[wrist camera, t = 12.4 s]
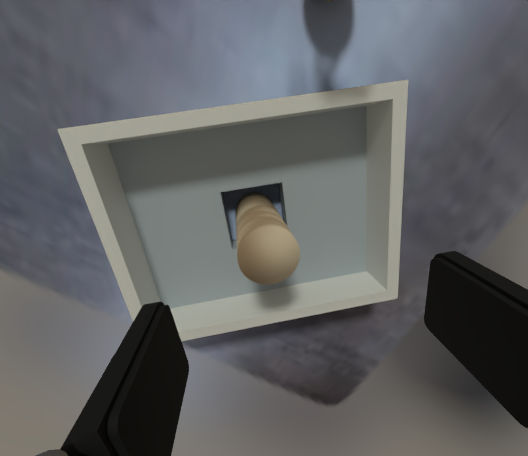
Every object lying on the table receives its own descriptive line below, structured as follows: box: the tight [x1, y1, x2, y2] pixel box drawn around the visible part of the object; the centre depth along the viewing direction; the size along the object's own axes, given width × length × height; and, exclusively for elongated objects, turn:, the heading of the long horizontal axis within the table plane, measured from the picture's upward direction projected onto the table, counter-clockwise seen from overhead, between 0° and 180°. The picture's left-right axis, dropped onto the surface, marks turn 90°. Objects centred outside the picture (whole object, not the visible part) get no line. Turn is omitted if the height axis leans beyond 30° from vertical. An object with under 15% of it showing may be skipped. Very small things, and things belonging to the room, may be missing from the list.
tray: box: [57, 80, 408, 341], centre depth 21 cm, size 22×17×6 cm
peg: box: [236, 192, 300, 285], centre depth 19 cm, size 4×4×10 cm
